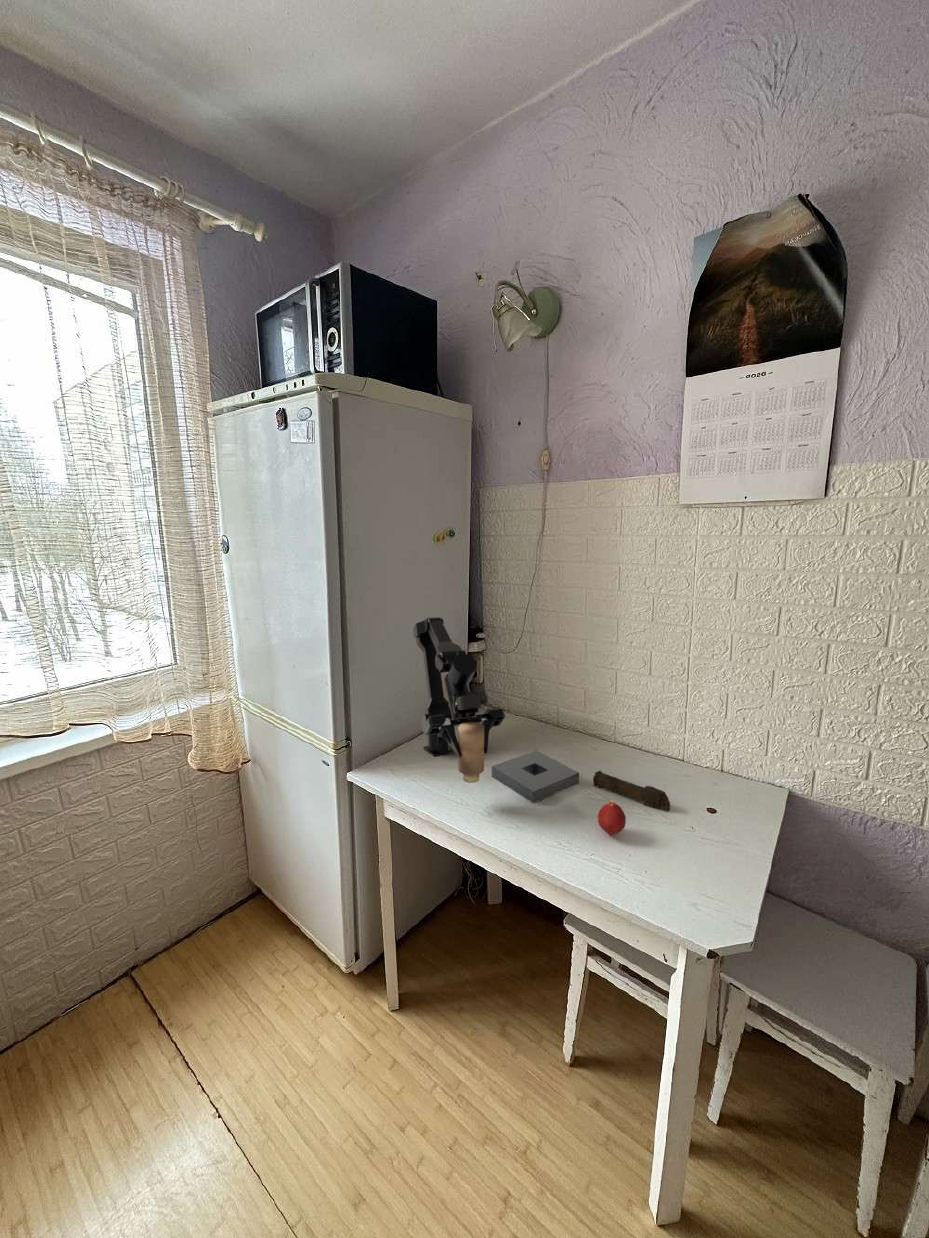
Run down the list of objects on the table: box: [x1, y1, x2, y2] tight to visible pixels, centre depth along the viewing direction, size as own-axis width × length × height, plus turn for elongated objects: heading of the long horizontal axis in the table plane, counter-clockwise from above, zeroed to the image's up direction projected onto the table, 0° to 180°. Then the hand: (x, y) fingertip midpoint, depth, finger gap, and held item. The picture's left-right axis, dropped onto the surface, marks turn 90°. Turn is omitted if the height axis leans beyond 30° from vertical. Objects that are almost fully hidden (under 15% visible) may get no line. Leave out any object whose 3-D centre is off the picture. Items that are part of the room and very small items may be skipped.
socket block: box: [491, 750, 580, 804], centre depth 131 cm, size 16×16×3 cm
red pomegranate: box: [597, 800, 627, 836], centre depth 108 cm, size 6×6×8 cm
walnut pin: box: [457, 722, 485, 784], centre depth 118 cm, size 6×6×13 cm
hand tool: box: [592, 770, 671, 812], centre depth 123 cm, size 19×4×5 cm, turn 45°
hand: (473, 755), depth 116 cm, fingers closed on walnut pin, 6 cm apart
